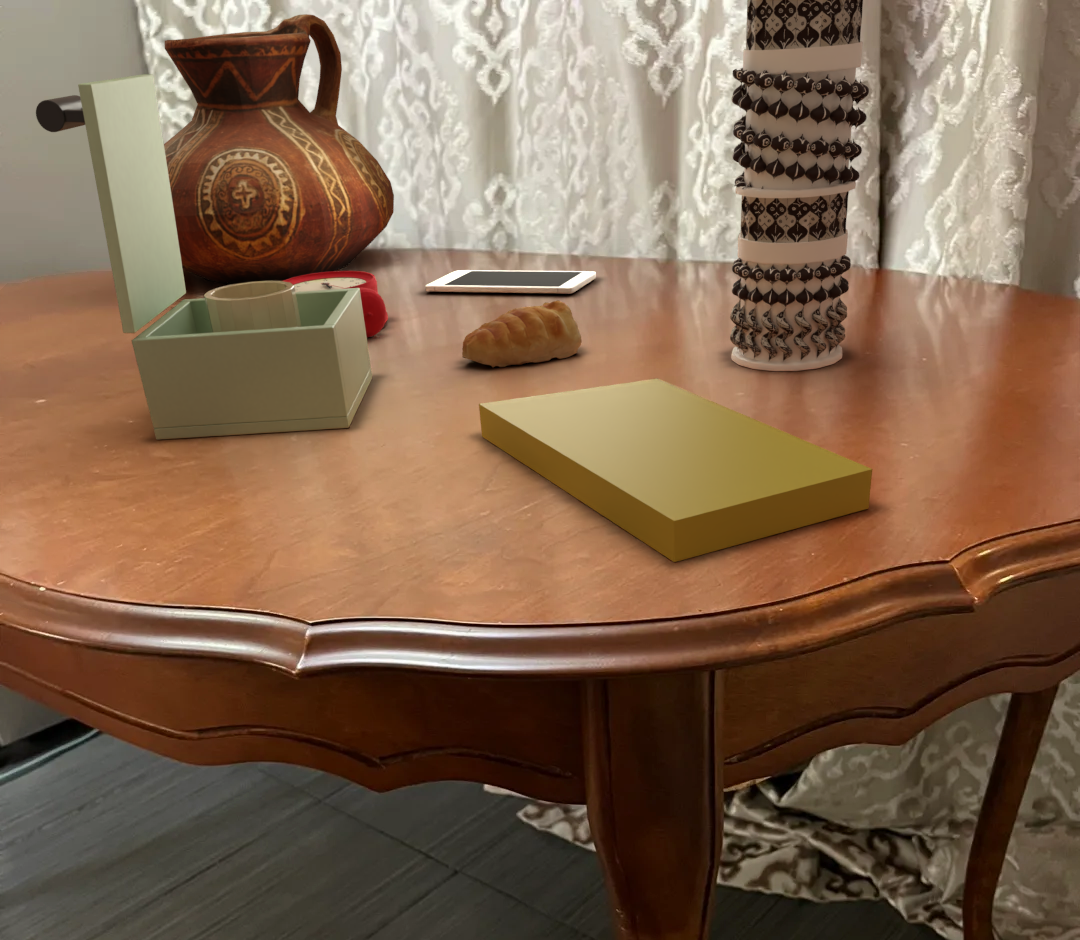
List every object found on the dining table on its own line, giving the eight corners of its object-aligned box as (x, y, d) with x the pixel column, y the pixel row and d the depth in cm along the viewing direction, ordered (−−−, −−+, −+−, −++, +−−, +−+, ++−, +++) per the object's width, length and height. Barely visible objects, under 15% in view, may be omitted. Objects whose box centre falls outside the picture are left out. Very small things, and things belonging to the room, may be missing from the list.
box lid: (153, 74, 77) (78, 73, 77) (91, 84, 66) (3, 82, 66) (186, 293, 85) (118, 292, 85) (135, 333, 74) (56, 332, 74)
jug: (315, 300, 115) (267, 13, 101) (83, 296, 125) (13, 35, 112) (439, 245, 138) (414, 6, 125) (235, 245, 148) (192, 24, 135)
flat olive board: (868, 508, 59) (640, 402, 78) (872, 468, 58) (639, 370, 77) (674, 562, 55) (482, 436, 74) (674, 520, 54) (478, 403, 73)
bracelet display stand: (703, 352, 88) (708, -28, 75) (803, 334, 91) (826, -36, 77) (765, 379, 81) (782, -37, 67) (872, 359, 83) (910, -45, 70)
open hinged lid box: (372, 377, 88) (359, 287, 84) (348, 428, 77) (333, 326, 74) (202, 388, 88) (182, 299, 85) (156, 439, 78) (130, 340, 74)
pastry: (486, 376, 86) (481, 325, 84) (448, 360, 91) (443, 311, 89) (589, 354, 90) (587, 304, 88) (547, 339, 95) (544, 292, 93)
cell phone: (456, 276, 120) (455, 269, 120) (597, 277, 115) (597, 271, 114) (424, 292, 114) (423, 285, 114) (571, 294, 109) (571, 287, 108)
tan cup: (218, 411, 80) (194, 302, 76) (238, 386, 85) (216, 283, 81) (303, 405, 80) (283, 296, 76) (318, 381, 85) (300, 278, 81)
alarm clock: (376, 267, 108) (386, 255, 94) (386, 335, 110) (397, 333, 96) (267, 279, 106) (261, 268, 92) (280, 348, 108) (275, 347, 94)
